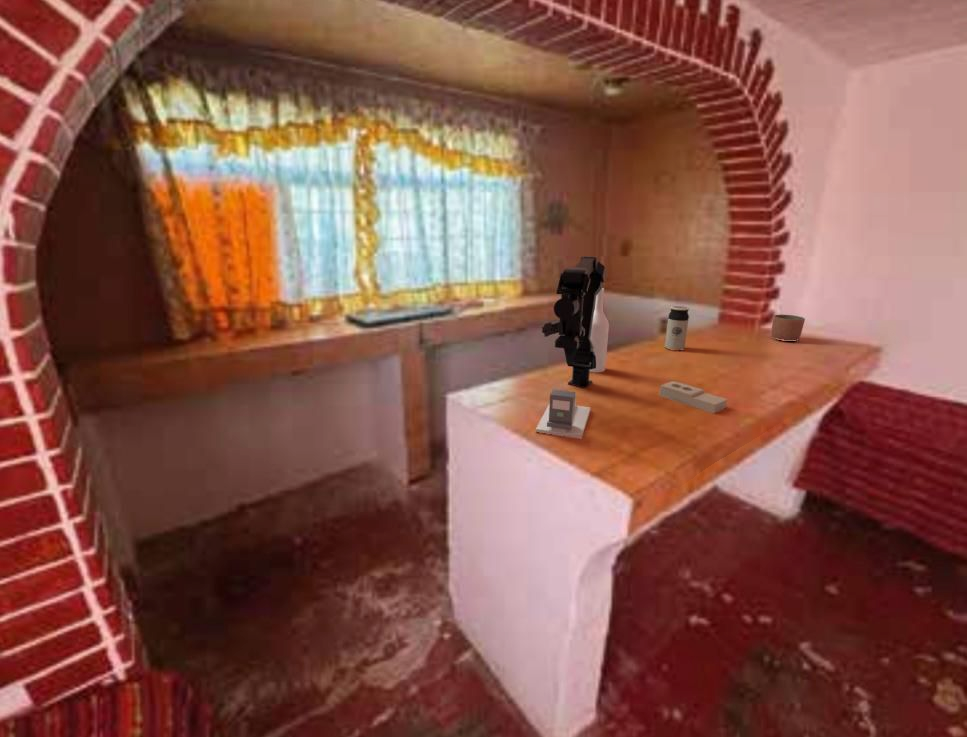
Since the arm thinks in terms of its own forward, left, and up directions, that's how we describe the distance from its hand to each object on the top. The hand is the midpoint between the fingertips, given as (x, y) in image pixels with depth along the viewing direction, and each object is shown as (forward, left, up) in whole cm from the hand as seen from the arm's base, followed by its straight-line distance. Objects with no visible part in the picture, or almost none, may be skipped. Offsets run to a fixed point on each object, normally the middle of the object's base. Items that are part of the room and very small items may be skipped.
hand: (568, 364), depth 146 cm
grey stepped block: (-22, +32, -13) cm, 41 cm away
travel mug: (-84, +13, -12) cm, 86 cm away
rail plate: (+14, +5, -12) cm, 19 cm away
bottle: (-36, -5, -12) cm, 38 cm away
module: (+20, +7, -10) cm, 23 cm away
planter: (-130, +52, -12) cm, 141 cm away
